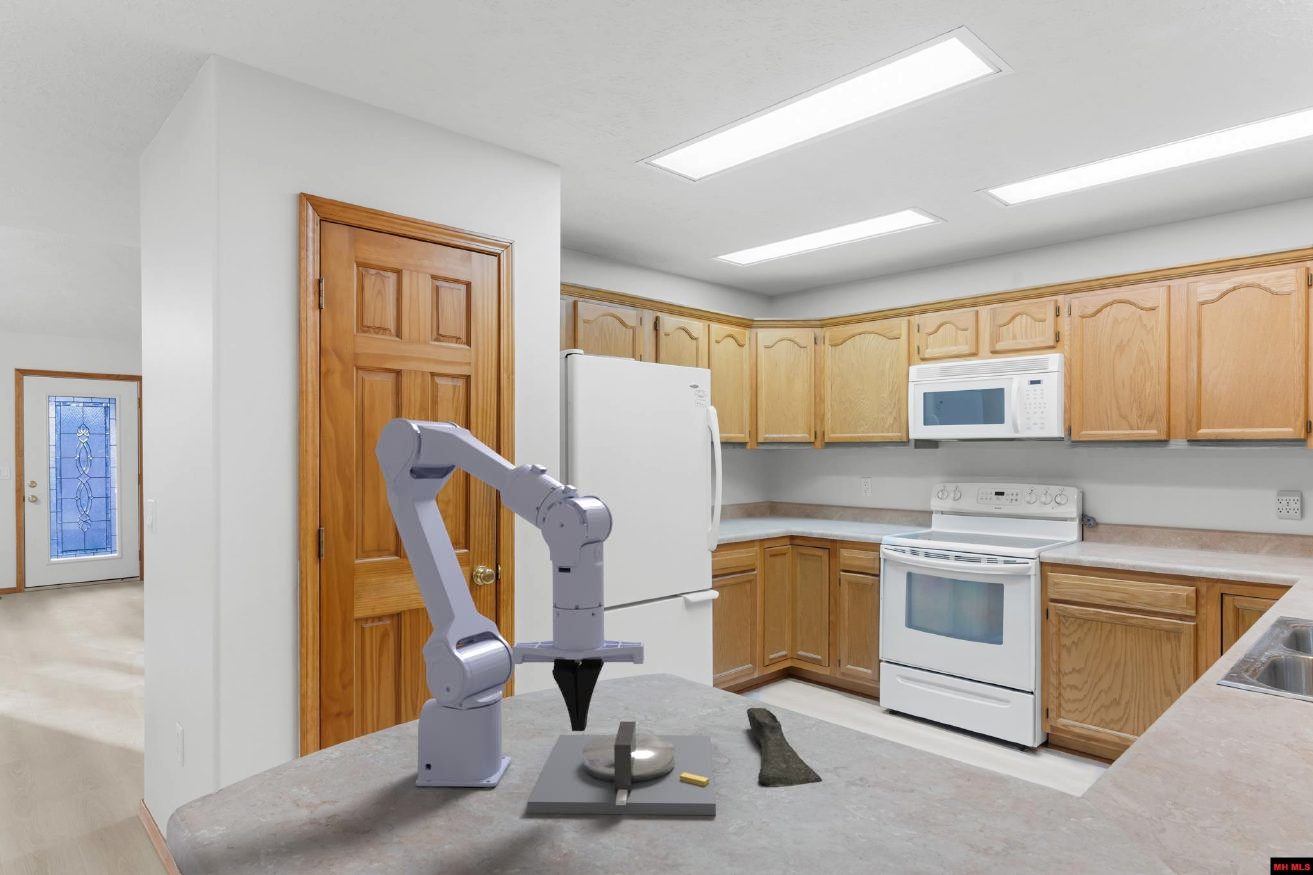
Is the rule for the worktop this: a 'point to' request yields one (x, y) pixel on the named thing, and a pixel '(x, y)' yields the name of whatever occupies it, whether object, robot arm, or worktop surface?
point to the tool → (777, 753)
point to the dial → (628, 757)
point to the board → (668, 794)
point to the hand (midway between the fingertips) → (579, 728)
